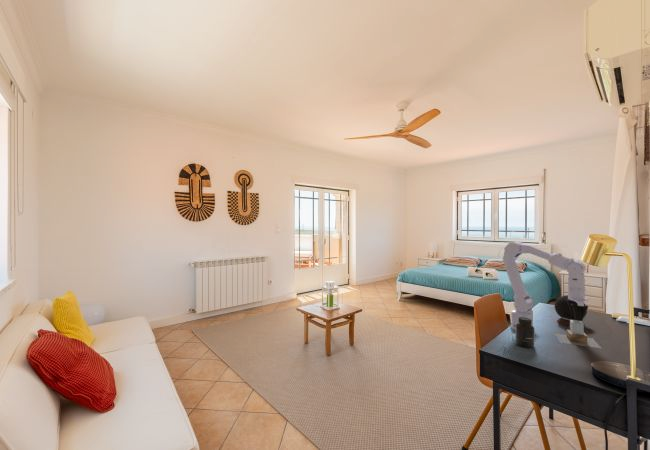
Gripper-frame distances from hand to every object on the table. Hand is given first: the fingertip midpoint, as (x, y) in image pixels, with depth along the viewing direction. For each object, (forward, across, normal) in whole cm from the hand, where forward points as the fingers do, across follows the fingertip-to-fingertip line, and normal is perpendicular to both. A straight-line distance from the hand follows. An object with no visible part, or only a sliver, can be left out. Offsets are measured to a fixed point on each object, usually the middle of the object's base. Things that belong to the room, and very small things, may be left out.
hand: (576, 318), depth 134 cm
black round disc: (+11, +27, -3) cm, 29 cm away
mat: (+10, 0, 0) cm, 10 cm away
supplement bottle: (+11, -16, +21) cm, 29 cm away
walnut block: (+10, 0, 0) cm, 10 cm away
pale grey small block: (+7, 0, 0) cm, 7 cm away
